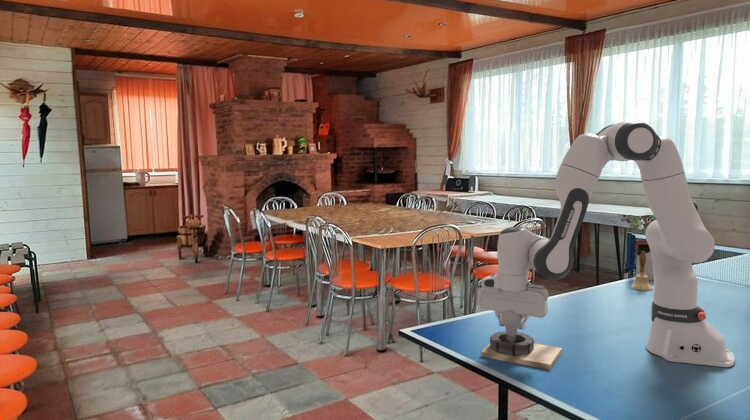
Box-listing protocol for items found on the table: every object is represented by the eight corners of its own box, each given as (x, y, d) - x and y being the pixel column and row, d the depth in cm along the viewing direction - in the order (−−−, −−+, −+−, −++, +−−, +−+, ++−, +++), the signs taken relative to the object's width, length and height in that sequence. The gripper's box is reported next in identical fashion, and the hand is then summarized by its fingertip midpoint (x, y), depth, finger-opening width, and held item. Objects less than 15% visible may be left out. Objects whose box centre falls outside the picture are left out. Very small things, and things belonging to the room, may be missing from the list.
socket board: (561, 352, 160) (562, 338, 160) (550, 369, 148) (550, 354, 148) (496, 341, 171) (496, 327, 170) (480, 356, 159) (481, 341, 158)
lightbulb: (510, 347, 157) (510, 310, 155) (496, 341, 162) (496, 305, 161) (526, 343, 159) (526, 307, 158) (512, 337, 165) (512, 302, 163)
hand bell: (628, 285, 234) (629, 249, 232) (648, 285, 233) (649, 249, 231) (634, 290, 226) (635, 253, 224) (655, 291, 225) (657, 253, 223)
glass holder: (638, 279, 244) (639, 247, 242) (628, 272, 257) (630, 241, 256) (659, 280, 242) (660, 247, 240) (648, 273, 256) (649, 241, 254)
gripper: (551, 283, 156) (550, 329, 157) (483, 275, 166) (483, 319, 168) (545, 288, 150) (544, 336, 152) (475, 280, 161) (475, 324, 163)
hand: (511, 327), depth 160 cm, fingers closed on lightbulb, 4 cm apart
